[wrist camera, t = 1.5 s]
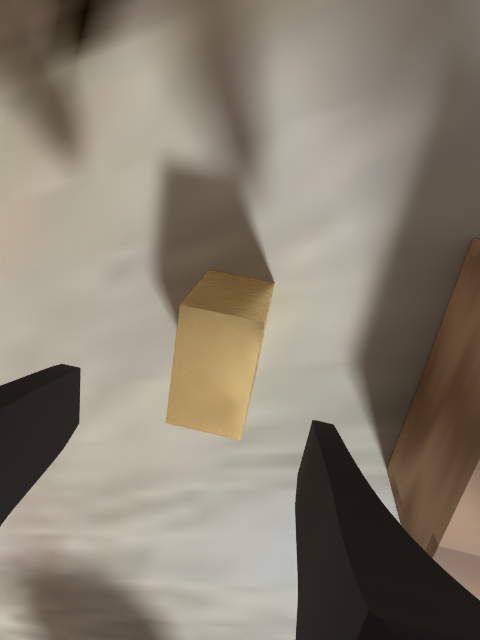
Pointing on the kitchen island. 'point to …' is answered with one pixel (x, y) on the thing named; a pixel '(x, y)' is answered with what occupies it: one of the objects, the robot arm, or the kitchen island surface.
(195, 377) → the wooden block
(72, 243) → the kitchen island surface
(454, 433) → the brown square open block
